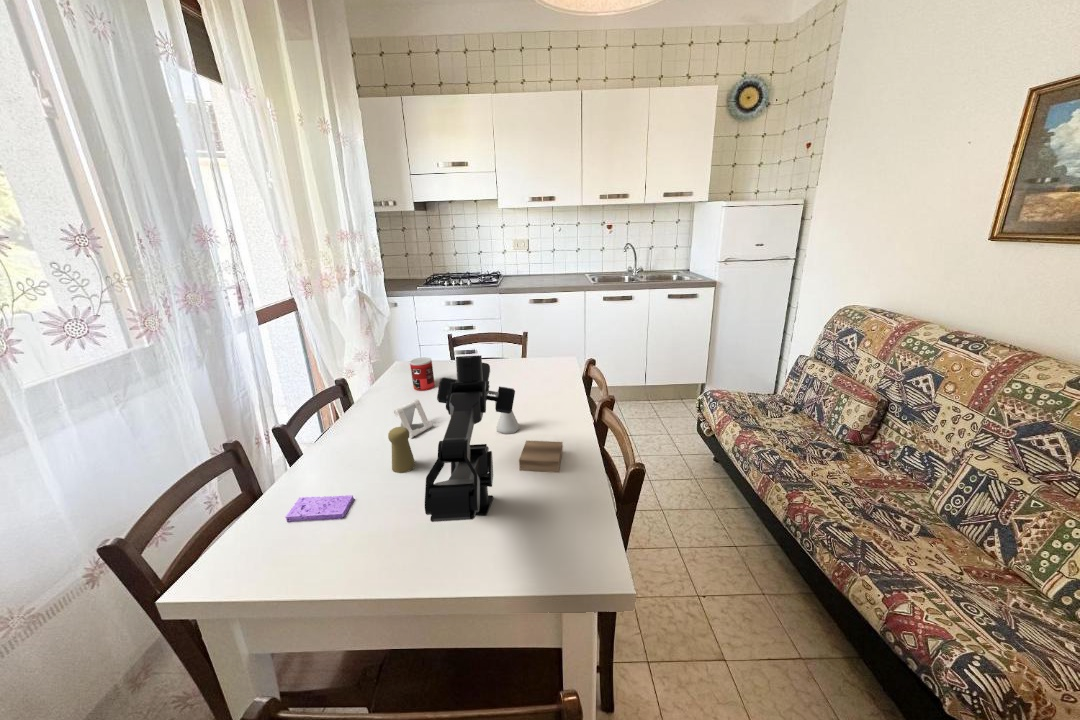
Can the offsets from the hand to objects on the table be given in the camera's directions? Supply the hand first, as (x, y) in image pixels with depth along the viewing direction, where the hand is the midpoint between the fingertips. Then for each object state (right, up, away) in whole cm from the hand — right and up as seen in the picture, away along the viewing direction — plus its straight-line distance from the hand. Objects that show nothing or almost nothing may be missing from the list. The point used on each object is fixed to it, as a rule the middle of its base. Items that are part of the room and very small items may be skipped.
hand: (480, 391), depth 117 cm
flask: (+6, -13, +16) cm, 22 cm away
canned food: (-29, -2, +51) cm, 59 cm away
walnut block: (+17, -18, -2) cm, 25 cm away
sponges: (-34, -26, -18) cm, 46 cm away
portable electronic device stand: (-23, -13, +18) cm, 32 cm away
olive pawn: (-20, -20, -2) cm, 28 cm away
